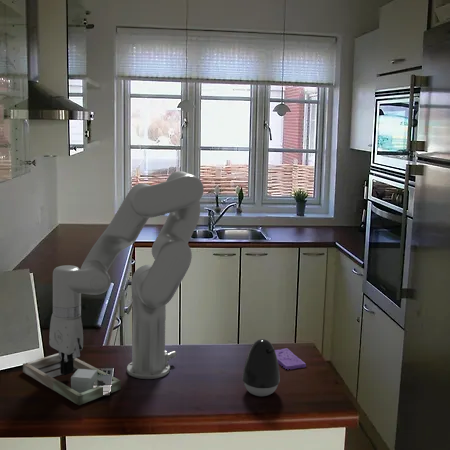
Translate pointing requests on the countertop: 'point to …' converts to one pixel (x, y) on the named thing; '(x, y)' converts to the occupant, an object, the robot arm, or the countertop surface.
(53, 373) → the rectangular open frame tray
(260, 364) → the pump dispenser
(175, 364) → the countertop surface
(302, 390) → the countertop surface
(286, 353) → the sponges
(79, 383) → the small box
